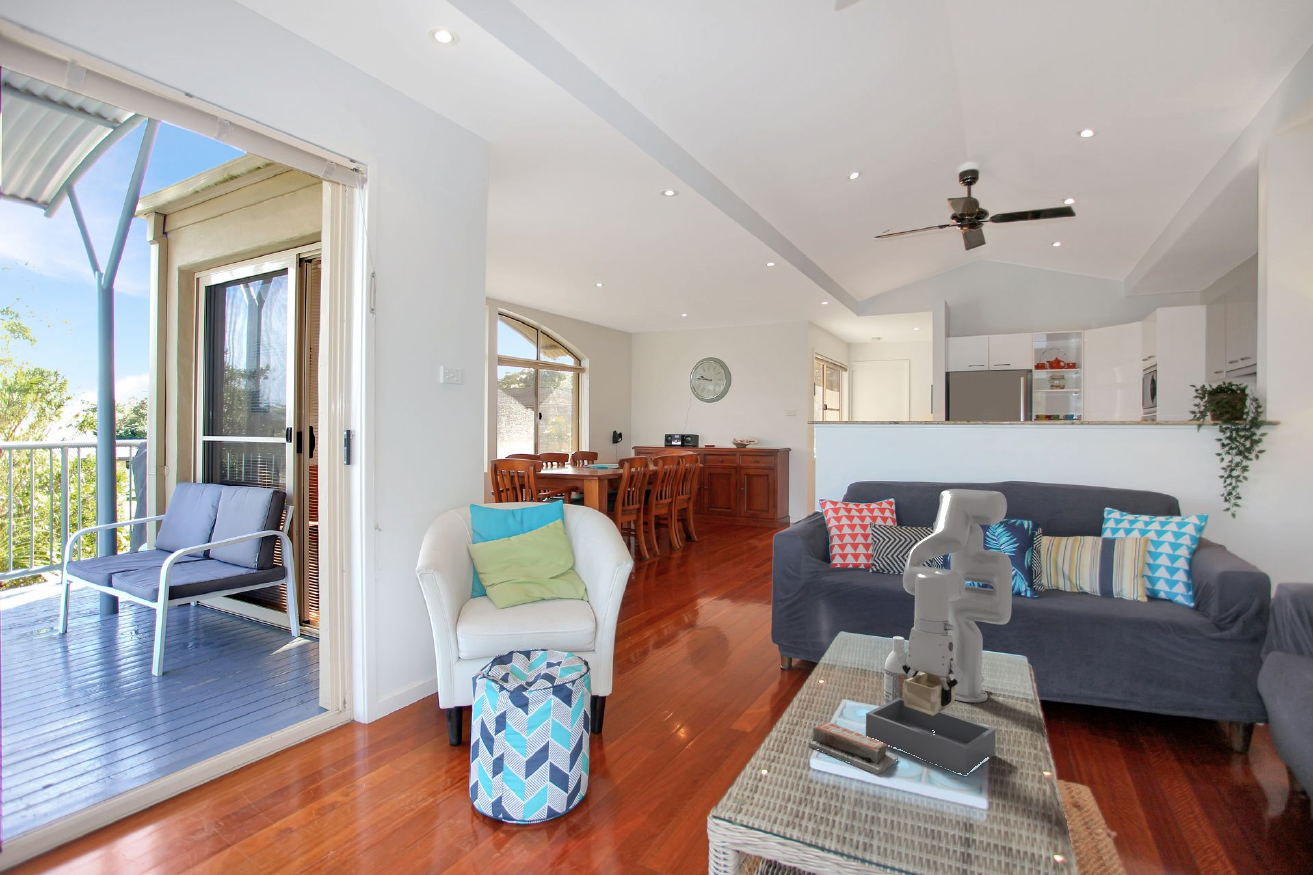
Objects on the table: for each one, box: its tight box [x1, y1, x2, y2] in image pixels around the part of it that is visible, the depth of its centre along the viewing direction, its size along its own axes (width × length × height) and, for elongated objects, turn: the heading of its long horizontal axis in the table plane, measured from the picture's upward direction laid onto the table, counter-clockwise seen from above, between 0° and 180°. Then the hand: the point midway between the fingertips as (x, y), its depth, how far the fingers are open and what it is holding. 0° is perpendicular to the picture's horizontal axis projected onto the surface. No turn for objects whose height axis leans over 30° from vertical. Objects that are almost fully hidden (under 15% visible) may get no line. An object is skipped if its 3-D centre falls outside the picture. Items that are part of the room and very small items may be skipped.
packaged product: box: [808, 721, 899, 775], centre depth 150 cm, size 18×5×10 cm
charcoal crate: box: [865, 698, 996, 775], centre depth 155 cm, size 16×24×6 cm, turn 41°
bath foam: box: [883, 635, 908, 705], centre depth 175 cm, size 7×7×20 cm
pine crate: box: [904, 672, 955, 715], centre depth 155 cm, size 11×7×6 cm, turn 131°
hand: (929, 699), depth 155 cm, fingers closed on pine crate, 7 cm apart
